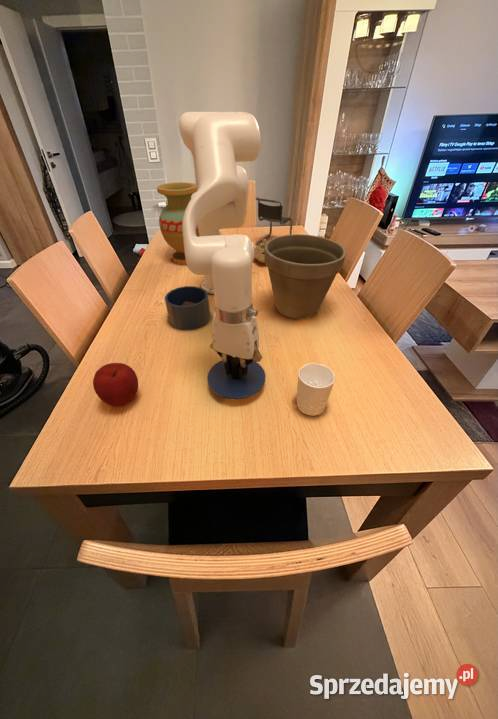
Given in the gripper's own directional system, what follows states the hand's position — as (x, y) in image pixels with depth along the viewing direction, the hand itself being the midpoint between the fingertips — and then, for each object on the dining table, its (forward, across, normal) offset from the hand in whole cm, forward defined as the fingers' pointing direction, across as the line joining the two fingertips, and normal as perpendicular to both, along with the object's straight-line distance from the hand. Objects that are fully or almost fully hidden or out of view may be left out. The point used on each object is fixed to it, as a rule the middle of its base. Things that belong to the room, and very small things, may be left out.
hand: (236, 373), depth 74 cm
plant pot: (+5, -4, -43) cm, 43 cm away
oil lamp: (+6, +22, -78) cm, 81 cm away
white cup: (+4, -19, -1) cm, 20 cm away
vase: (+6, +56, -67) cm, 87 cm away
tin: (+5, +28, -23) cm, 36 cm away
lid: (+2, 0, 0) cm, 2 cm away
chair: (+6, +26, -103) cm, 106 cm away
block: (+4, +28, -23) cm, 36 cm away
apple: (+4, +24, +15) cm, 29 cm away
